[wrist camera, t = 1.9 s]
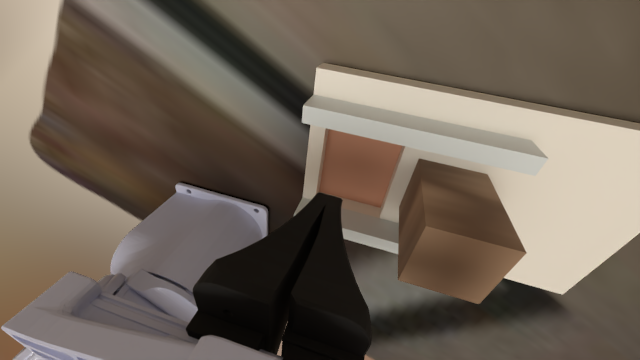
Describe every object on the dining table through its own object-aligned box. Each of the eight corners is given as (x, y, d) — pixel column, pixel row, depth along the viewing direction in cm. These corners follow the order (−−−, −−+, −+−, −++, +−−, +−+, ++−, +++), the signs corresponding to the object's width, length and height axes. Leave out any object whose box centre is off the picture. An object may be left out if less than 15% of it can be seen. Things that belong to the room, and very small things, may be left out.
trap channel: (305, 208, 23) (291, 237, 20) (323, 62, 16) (305, 75, 13) (552, 276, 20) (577, 321, 17) (710, 137, 13) (796, 174, 10)
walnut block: (399, 206, 18) (397, 279, 13) (418, 158, 16) (426, 226, 11) (458, 222, 18) (478, 304, 13) (487, 174, 15) (526, 253, 10)
